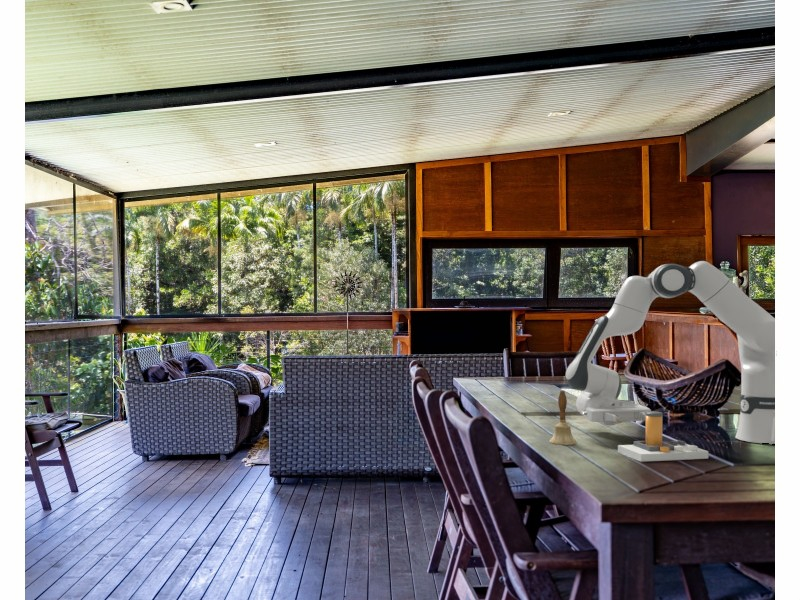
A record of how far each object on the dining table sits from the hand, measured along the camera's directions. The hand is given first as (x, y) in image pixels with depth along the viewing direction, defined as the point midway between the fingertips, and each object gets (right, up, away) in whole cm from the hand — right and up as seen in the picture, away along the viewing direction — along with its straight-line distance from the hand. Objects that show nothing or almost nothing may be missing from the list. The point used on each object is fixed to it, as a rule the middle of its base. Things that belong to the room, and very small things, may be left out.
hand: (631, 418), depth 210 cm
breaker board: (+5, -8, -12) cm, 16 cm away
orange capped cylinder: (+3, -6, -12) cm, 14 cm away
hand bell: (-20, -9, +5) cm, 22 cm away
